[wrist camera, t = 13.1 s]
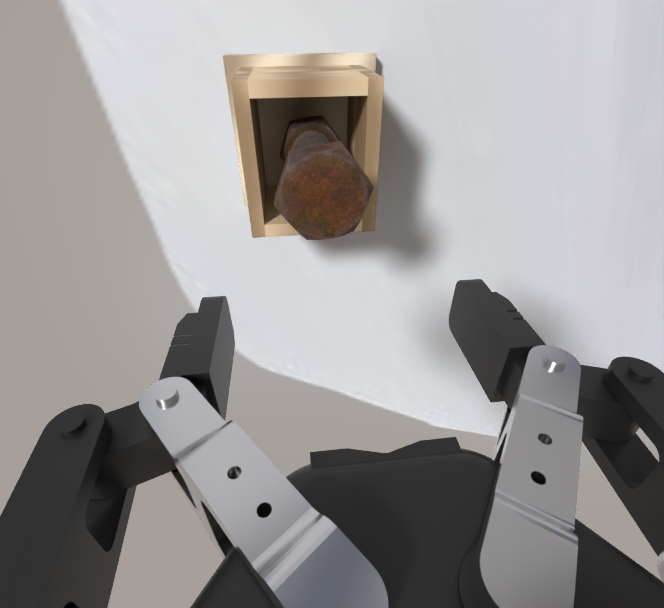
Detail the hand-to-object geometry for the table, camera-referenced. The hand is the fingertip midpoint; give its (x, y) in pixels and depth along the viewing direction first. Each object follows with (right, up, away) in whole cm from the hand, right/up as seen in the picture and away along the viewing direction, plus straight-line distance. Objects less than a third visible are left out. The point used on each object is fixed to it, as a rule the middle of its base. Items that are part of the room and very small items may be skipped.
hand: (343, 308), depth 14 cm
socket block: (-3, +15, +21) cm, 26 cm away
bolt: (-3, +15, +20) cm, 25 cm away
